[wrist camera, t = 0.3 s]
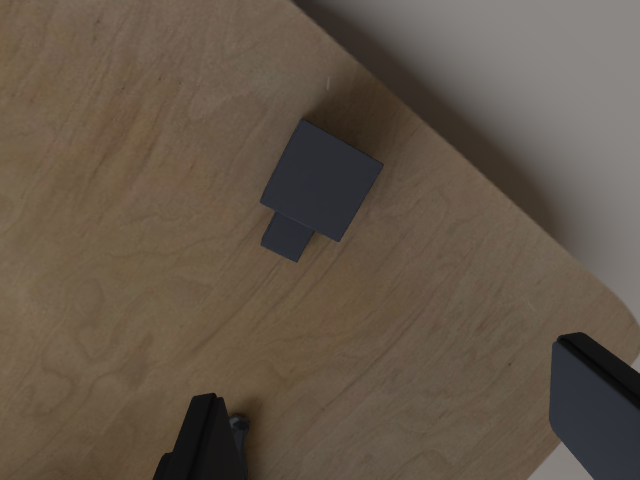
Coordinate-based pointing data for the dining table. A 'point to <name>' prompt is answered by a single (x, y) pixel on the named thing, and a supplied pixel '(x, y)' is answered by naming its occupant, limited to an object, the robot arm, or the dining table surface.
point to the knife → (240, 439)
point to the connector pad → (315, 189)
